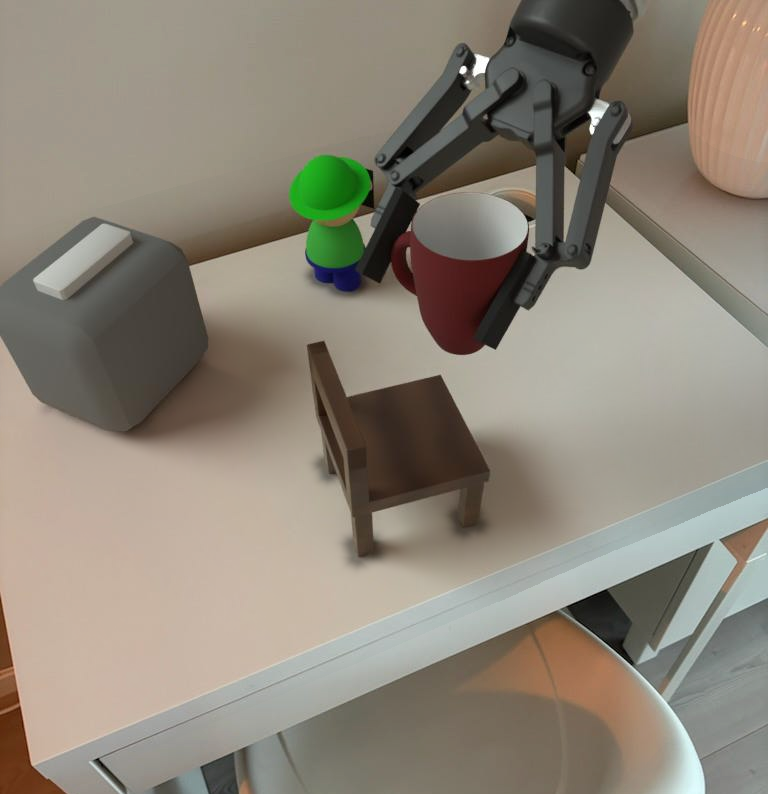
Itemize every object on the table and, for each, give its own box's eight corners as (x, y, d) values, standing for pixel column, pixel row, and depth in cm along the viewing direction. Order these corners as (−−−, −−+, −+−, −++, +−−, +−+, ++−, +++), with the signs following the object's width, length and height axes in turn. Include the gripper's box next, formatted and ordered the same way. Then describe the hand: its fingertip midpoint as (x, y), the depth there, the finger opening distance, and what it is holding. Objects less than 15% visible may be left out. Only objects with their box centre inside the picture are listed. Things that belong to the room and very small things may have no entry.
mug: (363, 342, 59) (357, 228, 51) (412, 284, 63) (414, 171, 55) (485, 388, 56) (499, 275, 48) (528, 324, 60) (548, 210, 52)
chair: (437, 432, 75) (444, 313, 63) (481, 525, 69) (499, 412, 56) (321, 461, 73) (306, 344, 61) (356, 560, 67) (346, 450, 54)
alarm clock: (142, 321, 86) (98, 195, 73) (224, 351, 83) (192, 224, 70) (43, 414, 78) (-26, 290, 65) (130, 451, 74) (75, 328, 62)
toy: (386, 270, 91) (385, 149, 79) (348, 311, 86) (340, 189, 74) (325, 248, 94) (314, 128, 81) (285, 287, 89) (267, 166, 77)
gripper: (757, 81, 47) (569, 391, 53) (470, -13, 57) (339, 259, 63) (748, 14, 41) (536, 375, 47) (426, -80, 50) (284, 231, 56)
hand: (423, 309), depth 55 cm, fingers closed on mug, 11 cm apart
